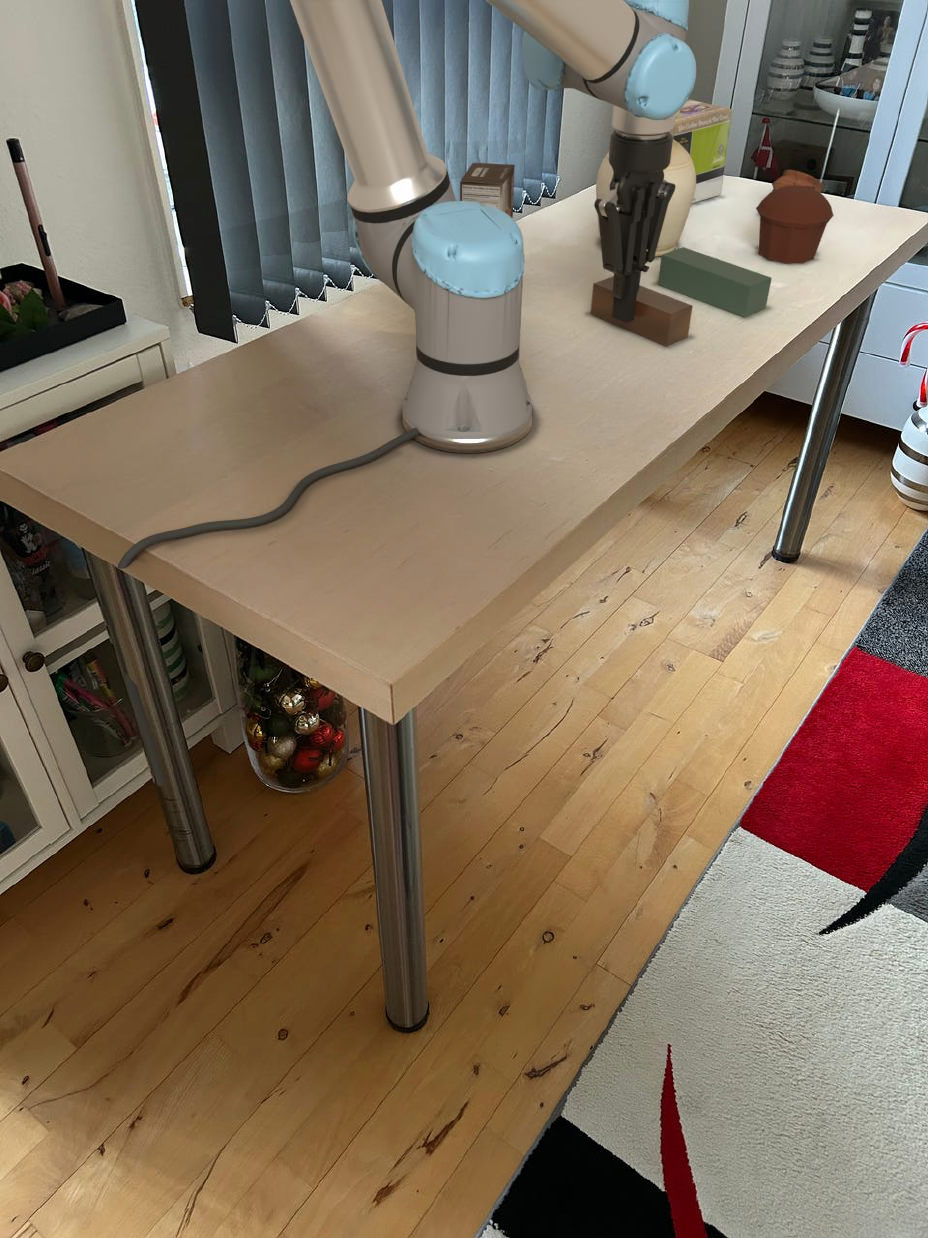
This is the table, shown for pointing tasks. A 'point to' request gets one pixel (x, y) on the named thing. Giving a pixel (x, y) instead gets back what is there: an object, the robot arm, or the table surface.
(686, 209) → the jug
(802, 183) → the bread bun
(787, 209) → the muffin
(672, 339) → the walnut bar
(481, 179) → the coffee box
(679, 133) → the tea box
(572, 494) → the table surface
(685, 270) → the green bar
